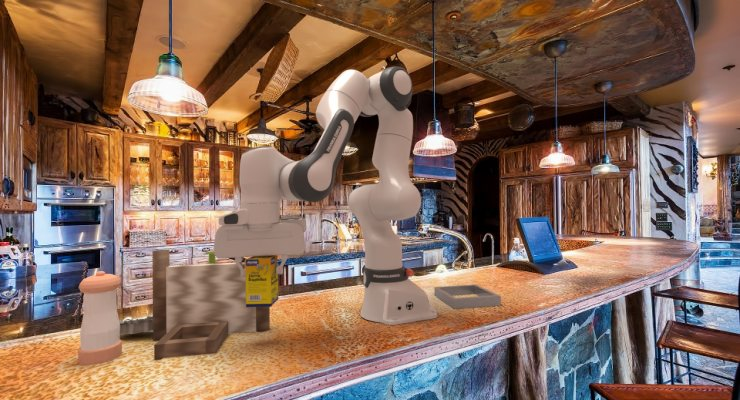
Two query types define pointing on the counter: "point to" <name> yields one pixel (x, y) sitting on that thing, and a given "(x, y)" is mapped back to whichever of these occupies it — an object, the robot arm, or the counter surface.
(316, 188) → the robot arm
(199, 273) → the wooden display stand
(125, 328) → the egg carton
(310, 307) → the counter surface
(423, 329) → the counter surface
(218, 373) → the counter surface
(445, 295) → the frame
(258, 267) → the supplement box
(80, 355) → the pepper shaker
